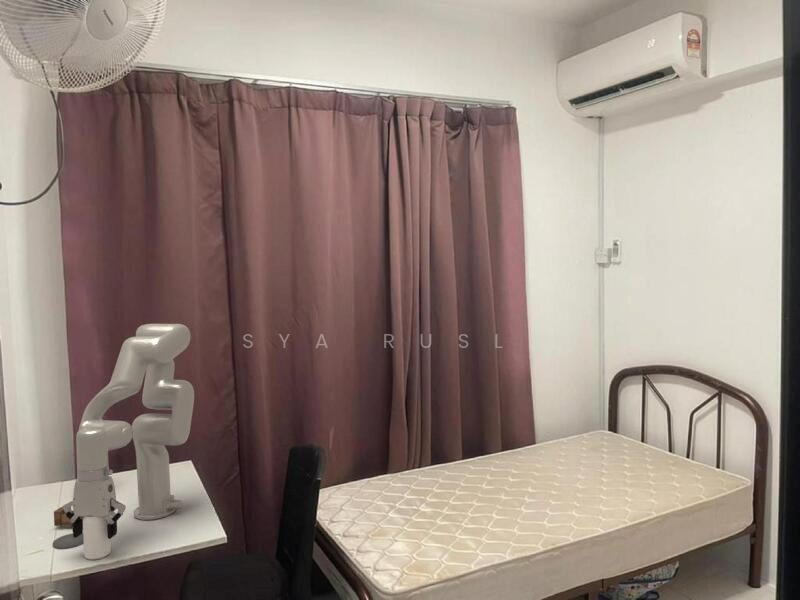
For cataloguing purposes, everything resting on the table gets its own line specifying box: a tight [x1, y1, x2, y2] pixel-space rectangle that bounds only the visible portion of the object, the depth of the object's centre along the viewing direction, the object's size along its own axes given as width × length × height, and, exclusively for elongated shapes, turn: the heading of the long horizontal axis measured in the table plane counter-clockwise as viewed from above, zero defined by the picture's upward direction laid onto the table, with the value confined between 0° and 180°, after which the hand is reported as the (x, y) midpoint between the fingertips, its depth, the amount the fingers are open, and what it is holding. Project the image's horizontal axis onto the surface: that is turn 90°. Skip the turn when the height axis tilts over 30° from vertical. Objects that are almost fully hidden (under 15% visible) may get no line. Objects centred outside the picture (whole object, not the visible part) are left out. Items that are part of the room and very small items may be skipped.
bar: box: [53, 506, 84, 527], centre depth 183 cm, size 4×11×4 cm, turn 83°
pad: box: [52, 532, 84, 550], centre depth 174 cm, size 9×9×1 cm
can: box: [83, 516, 112, 561], centre depth 165 cm, size 6×6×12 cm
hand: (95, 536), depth 165 cm, fingers open, 9 cm apart
